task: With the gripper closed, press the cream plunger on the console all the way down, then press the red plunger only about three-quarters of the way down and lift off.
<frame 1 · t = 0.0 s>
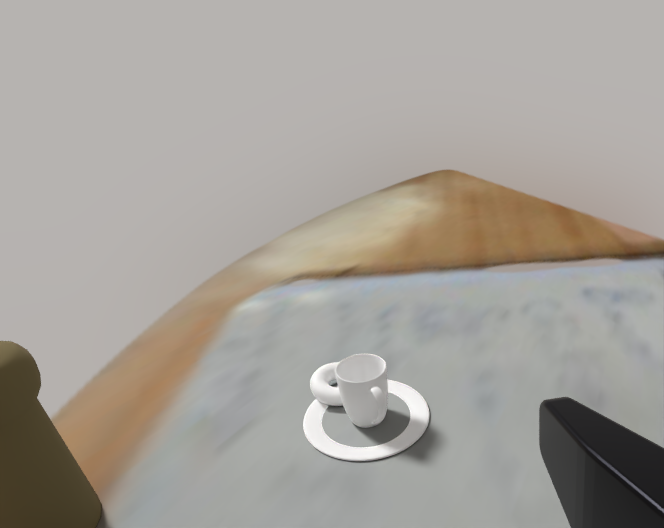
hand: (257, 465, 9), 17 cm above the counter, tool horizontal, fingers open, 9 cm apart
teacup and saucer: (388, 397, 38), on the counter
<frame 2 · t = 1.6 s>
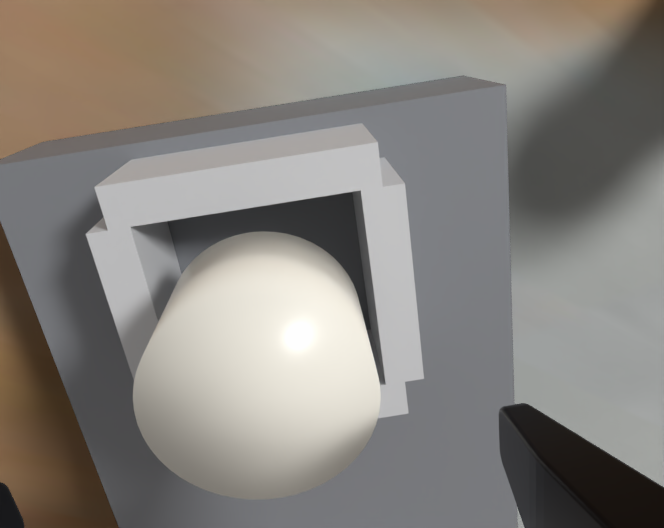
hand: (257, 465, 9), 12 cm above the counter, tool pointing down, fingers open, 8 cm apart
console: (310, 407, 23), on the counter
cream plunger: (263, 357, 12), point 9 cm above the counter, slide at 0.0 cm
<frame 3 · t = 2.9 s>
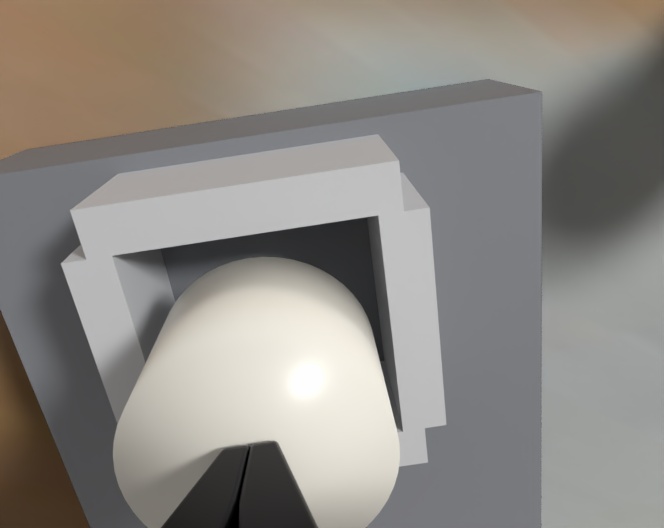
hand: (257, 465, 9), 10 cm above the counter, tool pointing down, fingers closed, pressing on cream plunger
console: (316, 435, 21), on the counter
cream plunger: (264, 402, 10), point 9 cm above the counter, slide at 0.3 cm, touching gripper
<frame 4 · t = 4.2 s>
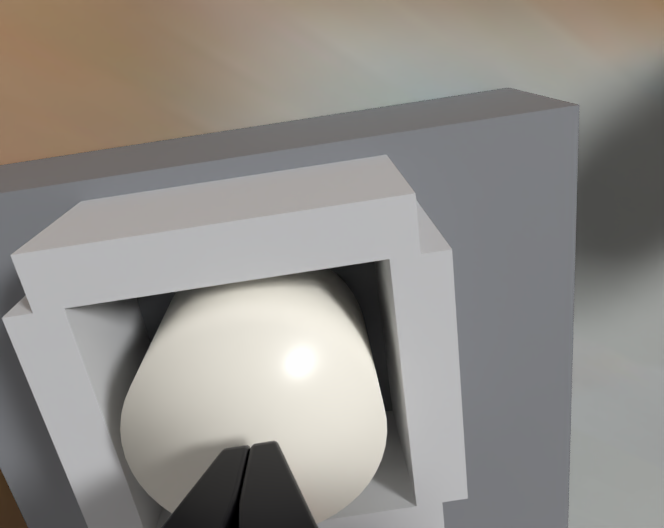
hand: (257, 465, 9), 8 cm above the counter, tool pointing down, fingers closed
console: (315, 478, 19), on the counter
cream plunger: (261, 383, 11), point 6 cm above the counter, slide at 3.2 cm
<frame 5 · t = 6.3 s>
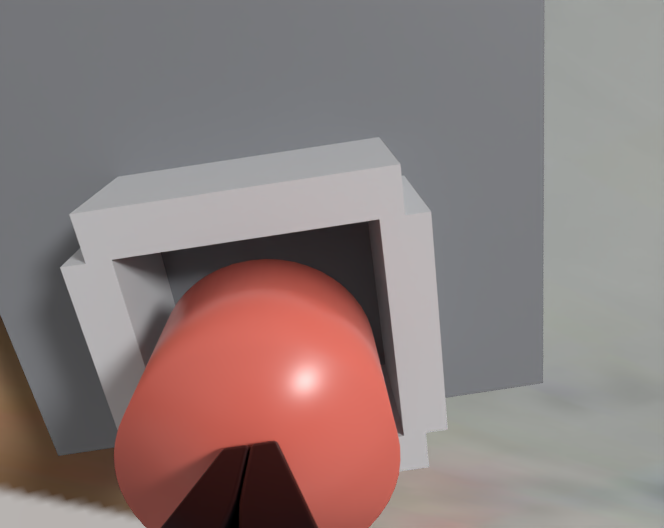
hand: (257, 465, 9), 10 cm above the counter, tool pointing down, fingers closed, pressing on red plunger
red plunger: (265, 404, 10), point 9 cm above the counter, slide at 0.4 cm, touching gripper
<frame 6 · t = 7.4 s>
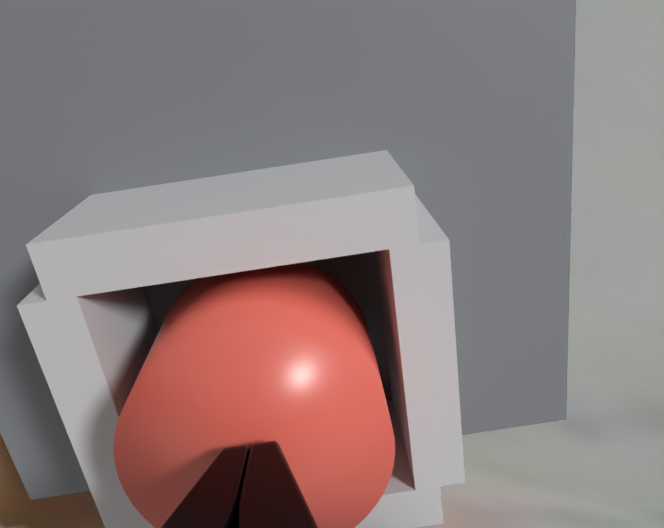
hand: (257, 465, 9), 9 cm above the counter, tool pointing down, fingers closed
red plunger: (262, 398, 10), point 7 cm above the counter, slide at 2.2 cm
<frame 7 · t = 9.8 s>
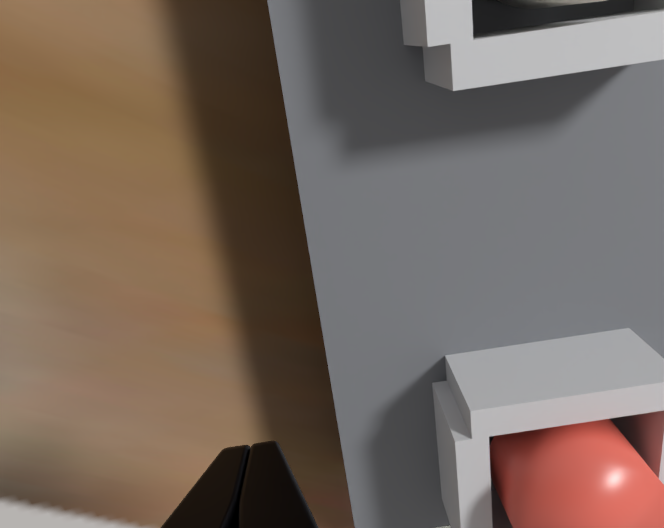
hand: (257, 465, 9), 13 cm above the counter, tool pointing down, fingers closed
console: (494, 184, 21), on the counter
red plunger: (573, 488, 17), point 7 cm above the counter, slide at 2.2 cm
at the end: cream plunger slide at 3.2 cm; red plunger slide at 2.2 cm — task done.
